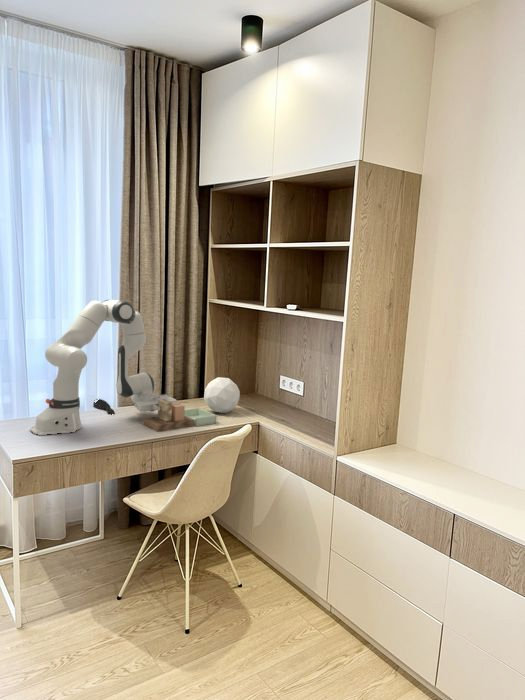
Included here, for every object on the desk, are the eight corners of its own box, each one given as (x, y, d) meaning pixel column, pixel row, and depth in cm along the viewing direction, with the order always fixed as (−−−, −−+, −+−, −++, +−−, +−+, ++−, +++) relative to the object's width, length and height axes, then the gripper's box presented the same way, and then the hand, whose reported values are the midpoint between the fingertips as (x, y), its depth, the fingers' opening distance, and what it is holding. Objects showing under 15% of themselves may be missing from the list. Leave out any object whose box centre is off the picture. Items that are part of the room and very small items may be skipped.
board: (157, 431, 251) (157, 425, 251) (143, 424, 262) (143, 418, 262) (193, 425, 264) (193, 419, 264) (179, 419, 275) (179, 413, 274)
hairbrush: (105, 411, 274) (90, 398, 294) (104, 418, 274) (90, 404, 295) (120, 409, 278) (105, 397, 299) (120, 416, 279) (105, 403, 299)
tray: (195, 426, 263) (196, 418, 263) (178, 418, 276) (178, 410, 276) (216, 423, 271) (216, 415, 270) (197, 415, 284) (198, 407, 283)
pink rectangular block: (171, 418, 264) (171, 404, 263) (167, 416, 267) (167, 402, 266) (180, 417, 267) (180, 403, 266) (176, 415, 270) (176, 401, 269)
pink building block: (175, 421, 260) (175, 407, 259) (171, 419, 263) (171, 405, 262) (184, 419, 263) (184, 405, 262) (180, 417, 266) (180, 404, 265)
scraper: (165, 421, 257) (166, 403, 256) (157, 417, 263) (158, 399, 262) (171, 420, 259) (171, 402, 258) (163, 416, 265) (163, 398, 264)
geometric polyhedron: (213, 425, 290) (191, 397, 284) (224, 405, 307) (204, 378, 301) (241, 413, 281) (219, 384, 276) (250, 393, 298) (230, 365, 293)
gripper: (132, 398, 264) (145, 404, 254) (168, 394, 277) (182, 399, 266) (132, 410, 265) (145, 417, 254) (168, 405, 278) (182, 412, 267)
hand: (164, 408), depth 261 cm, fingers closed on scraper, 3 cm apart
